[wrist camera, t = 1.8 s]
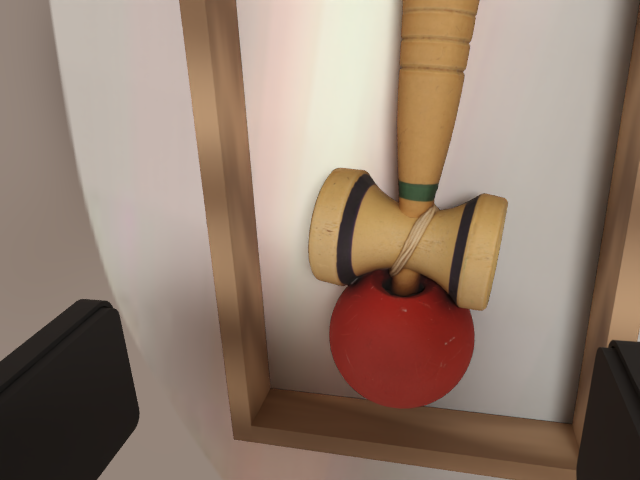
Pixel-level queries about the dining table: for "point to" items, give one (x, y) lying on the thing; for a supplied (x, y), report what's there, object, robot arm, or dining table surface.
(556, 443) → the wooden frame
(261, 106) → the dining table surface
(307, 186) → the dining table surface
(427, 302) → the kendama
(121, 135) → the dining table surface
